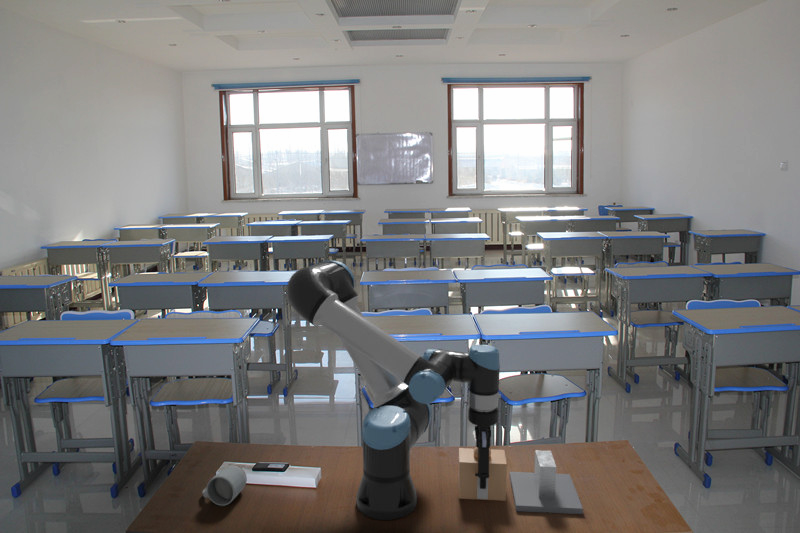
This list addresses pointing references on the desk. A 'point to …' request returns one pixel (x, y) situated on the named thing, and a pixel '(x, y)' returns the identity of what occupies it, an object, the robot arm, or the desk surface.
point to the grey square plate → (544, 488)
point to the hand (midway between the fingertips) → (481, 489)
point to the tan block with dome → (470, 467)
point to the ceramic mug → (225, 485)
